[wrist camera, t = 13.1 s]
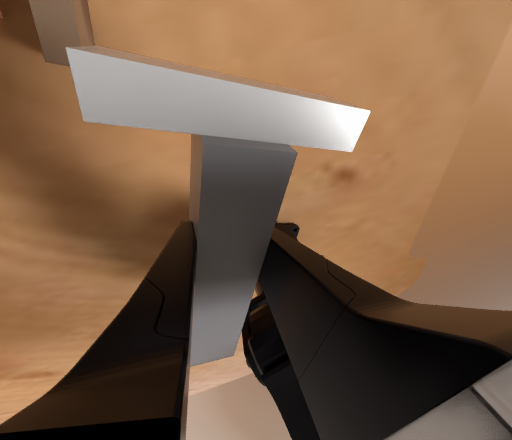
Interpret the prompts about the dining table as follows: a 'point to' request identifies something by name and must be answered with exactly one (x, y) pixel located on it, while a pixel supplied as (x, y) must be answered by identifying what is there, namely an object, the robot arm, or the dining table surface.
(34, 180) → the dining table surface
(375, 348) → the robot arm
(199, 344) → the pusher tool
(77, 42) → the bay
